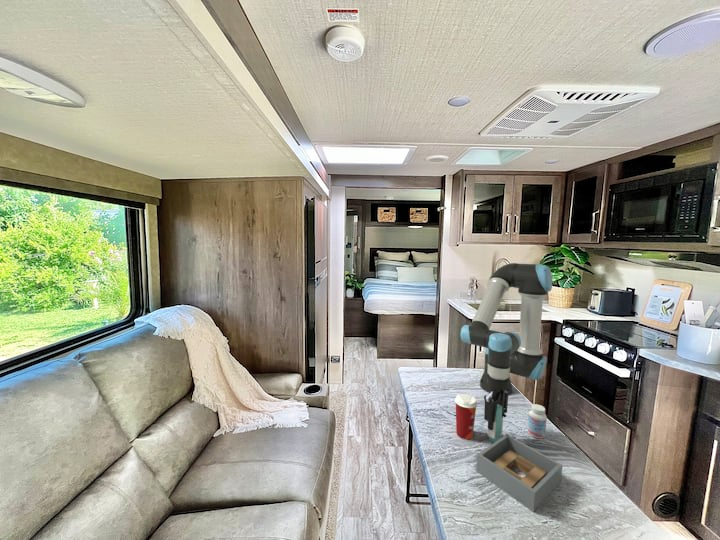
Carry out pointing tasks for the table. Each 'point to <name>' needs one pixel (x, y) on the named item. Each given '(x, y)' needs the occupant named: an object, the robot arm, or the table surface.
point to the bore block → (521, 468)
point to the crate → (511, 483)
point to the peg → (497, 424)
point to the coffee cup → (465, 415)
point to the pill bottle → (537, 421)
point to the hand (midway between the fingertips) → (494, 433)
